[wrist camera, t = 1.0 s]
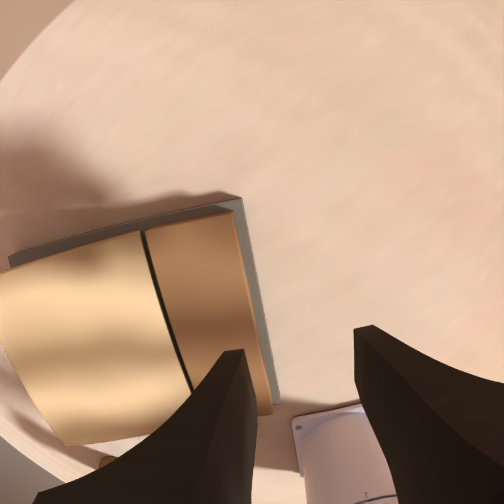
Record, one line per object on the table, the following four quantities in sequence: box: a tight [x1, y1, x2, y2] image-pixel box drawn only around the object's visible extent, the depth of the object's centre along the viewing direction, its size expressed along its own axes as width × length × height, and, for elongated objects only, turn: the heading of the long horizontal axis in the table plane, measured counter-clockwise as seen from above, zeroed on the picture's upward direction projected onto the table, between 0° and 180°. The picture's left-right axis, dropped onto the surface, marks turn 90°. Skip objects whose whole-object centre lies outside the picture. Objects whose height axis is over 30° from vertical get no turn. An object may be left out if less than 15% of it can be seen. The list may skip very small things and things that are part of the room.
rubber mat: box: [8, 198, 281, 405], centre depth 19 cm, size 14×18×1 cm
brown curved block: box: [145, 210, 273, 416], centre depth 17 cm, size 13×4×2 cm, turn 10°
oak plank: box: [0, 230, 192, 447], centre depth 16 cm, size 13×11×2 cm
